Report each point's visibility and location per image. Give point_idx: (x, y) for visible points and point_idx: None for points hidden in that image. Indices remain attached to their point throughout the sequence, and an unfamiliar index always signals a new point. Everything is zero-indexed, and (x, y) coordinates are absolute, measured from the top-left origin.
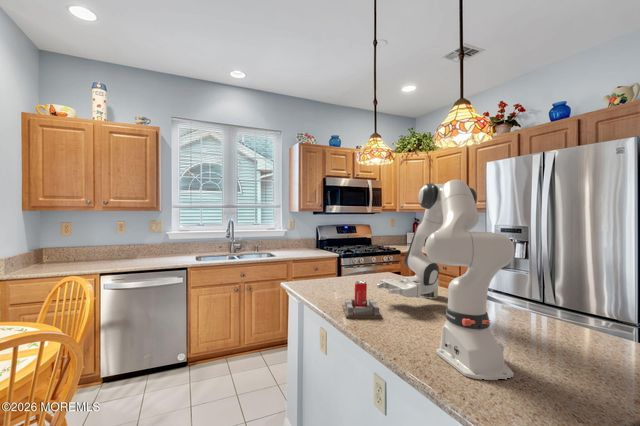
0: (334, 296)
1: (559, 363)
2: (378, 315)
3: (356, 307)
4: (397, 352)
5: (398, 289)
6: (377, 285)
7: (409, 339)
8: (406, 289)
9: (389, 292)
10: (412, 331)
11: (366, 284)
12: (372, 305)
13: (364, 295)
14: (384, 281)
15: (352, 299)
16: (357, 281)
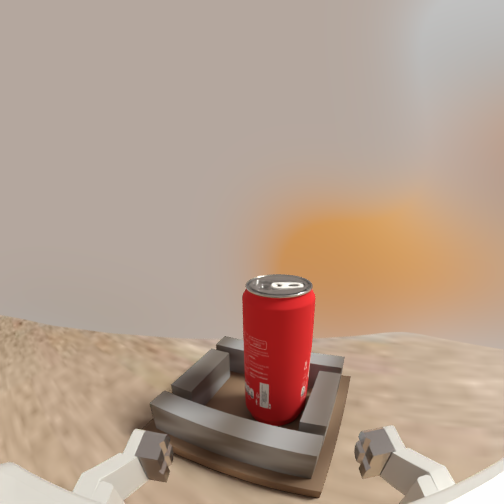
0: (481, 378)
1: None
2: (157, 425)
3: (216, 353)
4: (19, 334)
5: (87, 471)
6: (378, 431)
7: (6, 375)
8: (2, 464)
9: (167, 450)
10: (6, 413)
11: (255, 304)
12: (208, 408)
13: (244, 351)
14: (454, 484)
15: (333, 375)
16: (302, 280)
